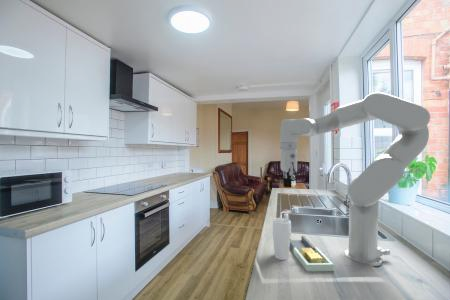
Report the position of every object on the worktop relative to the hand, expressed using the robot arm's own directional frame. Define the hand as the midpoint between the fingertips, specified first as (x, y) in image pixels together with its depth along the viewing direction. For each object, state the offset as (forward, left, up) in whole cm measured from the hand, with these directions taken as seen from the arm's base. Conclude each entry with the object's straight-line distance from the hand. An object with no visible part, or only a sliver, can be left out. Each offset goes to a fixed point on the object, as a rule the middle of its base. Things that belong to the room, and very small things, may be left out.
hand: (287, 186), depth 104 cm
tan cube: (-3, +23, -24) cm, 34 cm away
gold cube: (-2, +19, -24) cm, 31 cm away
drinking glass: (+7, +17, -25) cm, 31 cm away
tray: (-3, +21, -25) cm, 33 cm away
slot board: (-3, +9, -25) cm, 26 cm away
